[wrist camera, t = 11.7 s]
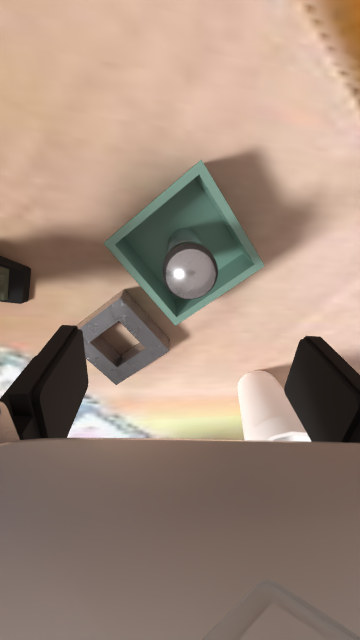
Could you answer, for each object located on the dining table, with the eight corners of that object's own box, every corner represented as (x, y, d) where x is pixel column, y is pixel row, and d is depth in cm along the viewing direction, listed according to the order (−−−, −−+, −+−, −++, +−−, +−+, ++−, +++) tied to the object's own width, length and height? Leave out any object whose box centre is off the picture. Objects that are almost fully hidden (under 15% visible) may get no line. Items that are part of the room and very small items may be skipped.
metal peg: (199, 266, 33) (212, 305, 22) (163, 261, 32) (158, 298, 22) (207, 228, 30) (225, 251, 20) (168, 222, 30) (165, 242, 19)
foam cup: (245, 355, 40) (274, 423, 29) (295, 371, 42) (342, 441, 30) (219, 398, 44) (236, 473, 33) (266, 411, 46) (297, 486, 34)
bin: (249, 252, 33) (264, 265, 27) (174, 305, 36) (175, 325, 30) (195, 164, 28) (201, 159, 23) (114, 233, 31) (103, 243, 26)
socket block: (169, 339, 38) (169, 350, 36) (119, 372, 41) (116, 385, 38) (123, 289, 35) (120, 297, 32) (72, 328, 37) (64, 339, 34)
